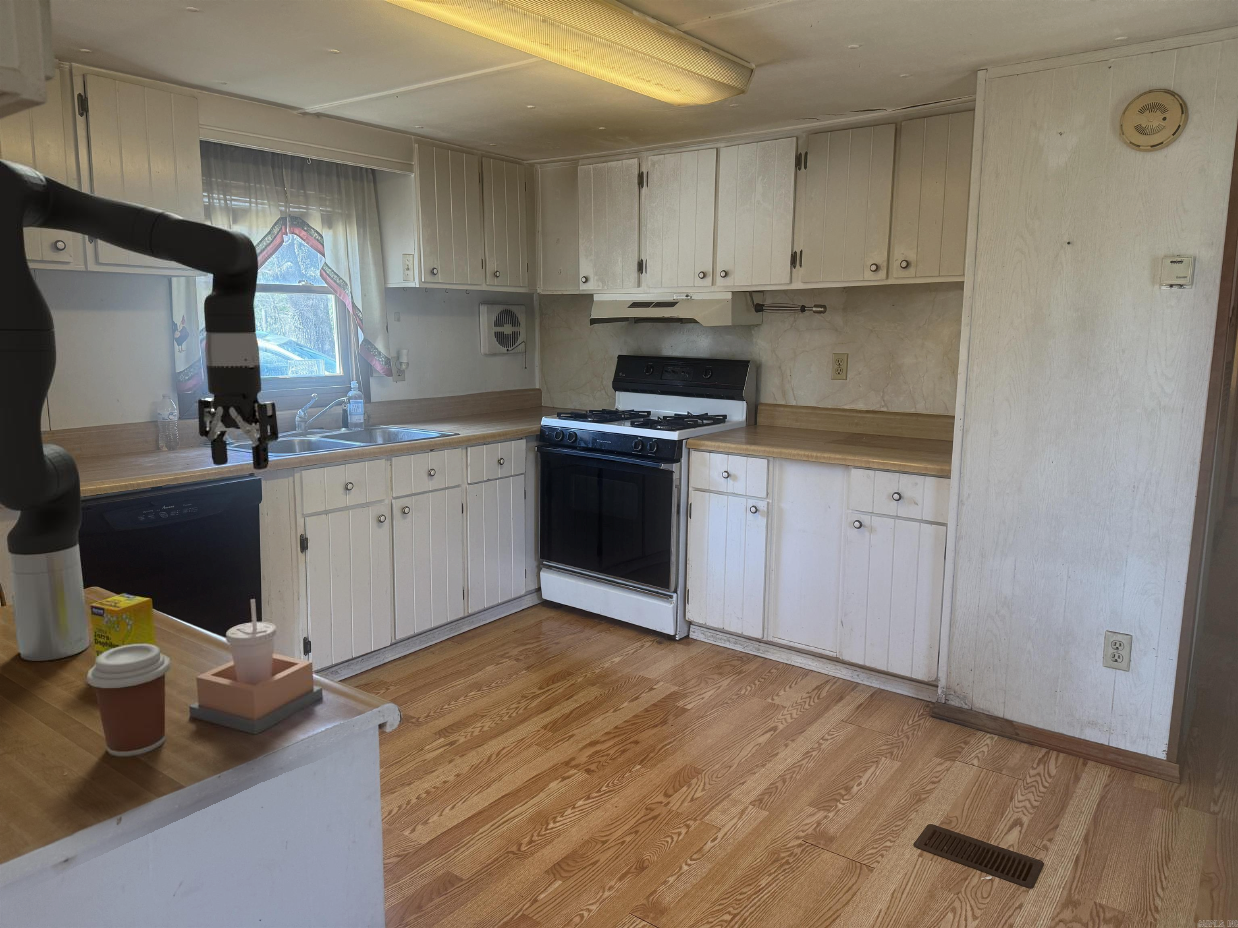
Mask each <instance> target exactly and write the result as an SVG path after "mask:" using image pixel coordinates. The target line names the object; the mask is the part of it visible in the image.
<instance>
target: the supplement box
mask: <svg viewBox="0 0 1238 928" xmlns="http://www.w3.org/2000/svg"><path fill="white" fill-rule="evenodd" d="M89 609H90V610H89V611H90V618H91V619H90V620H91V628H92V629H91V630H92V638H93V648H94V649H93V650H94V657H95V659H94V660H96V658H97V657H98V656H99V655H101V654H102V653H103V652H106V651H108V650H111V649H113V648H117V647H121V646H125V645H132V644H151V645H155V646H157V644H156V642H157V641H156V634H155V622H154V621H155V620H154V608H153V599H152V598H149V597H141V596H137V595H132V594H128V593H126V592H125V593H121V594H118V595H115V596H112V597H109V598H106V599H103V600H99V601H97V602H94V603H91V604H90V605H89Z"/></svg>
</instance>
